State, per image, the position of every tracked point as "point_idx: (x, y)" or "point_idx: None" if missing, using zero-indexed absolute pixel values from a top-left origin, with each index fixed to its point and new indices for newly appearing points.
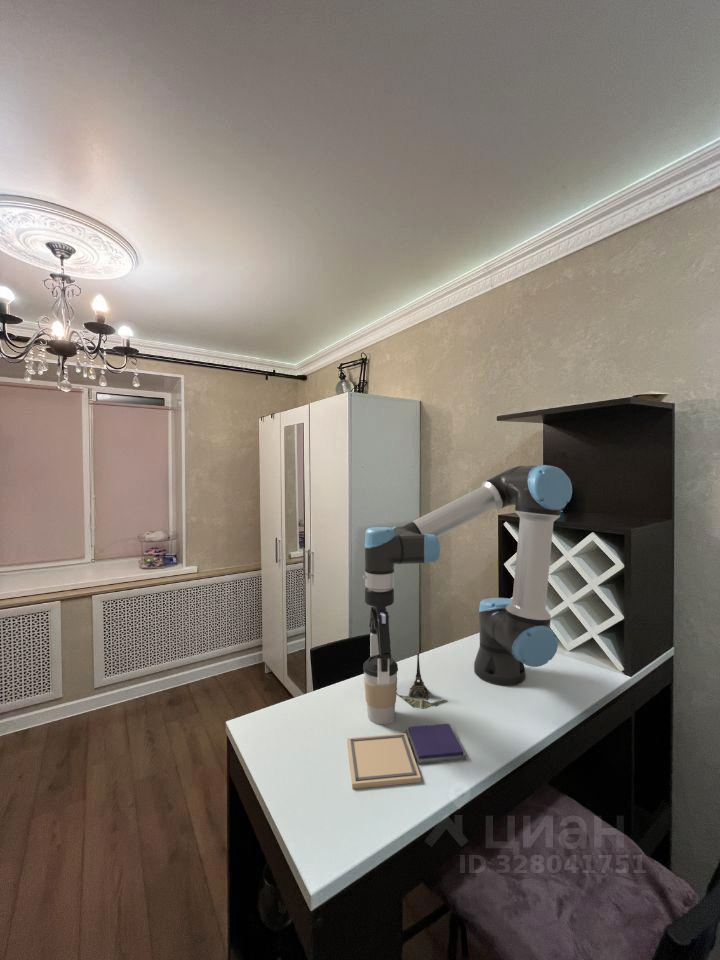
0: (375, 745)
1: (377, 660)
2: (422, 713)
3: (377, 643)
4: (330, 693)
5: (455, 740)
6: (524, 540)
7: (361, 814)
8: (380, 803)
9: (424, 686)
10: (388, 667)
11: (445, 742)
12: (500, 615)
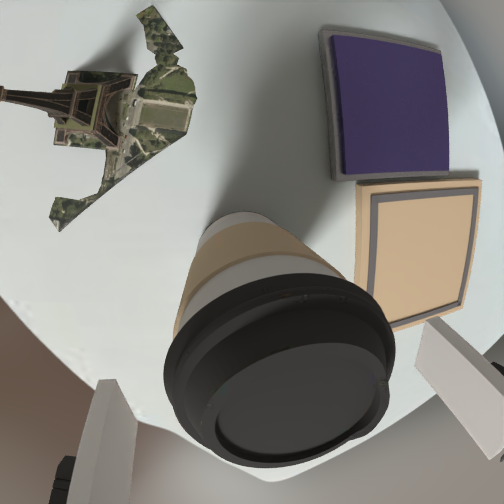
0: (394, 275)
1: (275, 428)
2: (227, 103)
3: (106, 476)
4: (129, 396)
5: (407, 50)
6: None
7: (490, 283)
8: (487, 256)
9: (75, 82)
10: (490, 369)
11: (414, 81)
12: None
